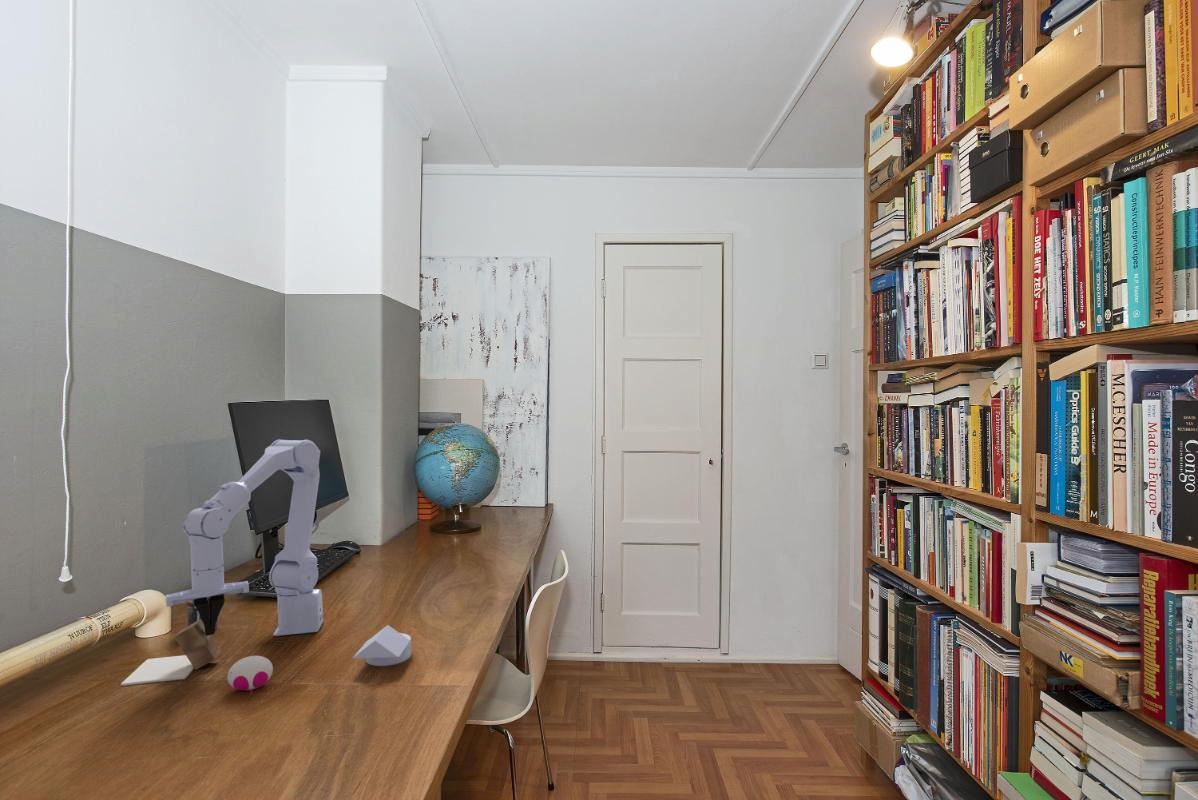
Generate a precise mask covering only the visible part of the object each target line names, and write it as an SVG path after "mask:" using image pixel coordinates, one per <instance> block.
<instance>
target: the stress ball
mask: <svg viewBox="0 0 1198 800" xmlns="http://www.w3.org/2000/svg"><path fill="white" fill-rule="evenodd" d="M273 666H274V665H273V663H272V662H271V660H270V659H268V658H267V657H265V656H261V655H251V656H250V655H249V656H246V657H243V658H240V659H239V660H237V661H236V662H235V663H234V664H233V665H232V666H231V667H230V668H229V670H228V673H227V676H226V677H227V682H228V685H230V686H231V687H232V688H233V689H235V690H237V691H250V695H252V693H253V690H255V689H258V688H260V687H262V686H264V685H265V684H266V683H267V682H268V681H269V680H270V679H271V677H272V674H273V672H274V667H273Z"/></svg>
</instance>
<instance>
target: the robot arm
mask: <svg viewBox="0 0 1198 800" xmlns="http://www.w3.org/2000/svg"><path fill="white" fill-rule="evenodd" d="M320 457H321V450H320V448H318V446H317V445H316V444H315V443H314V442H313V441H312V440H309V439H304V440H301V439H300V440H297V439H295V440H290V439H289V440H288V439H276V440H274V441H273V442H272V443H271V444H270V445H269V446H267V447H266V448H265V449H264V453H263V455H262V456H261V457H260V458H259V459H258V460H257V461H256V462H255V463H254V464H253V465H252V466H251V467H250V469H249V470H248V471H247V472H246V473H245V474H244V475H243V476H241V478H240V479H239V480H238V481H229V482H228V483H223V484H222V485H221V486H220V490H219V491H218V492H217V493H215V494H214V495H213V496H212V497H211V498H210V499H209V500H206V501H205V502H203V505H202V507H198V508H195V509H193V510H191V511H190V512H189V513H188V514H187V515H186V517H185V518H184V519H185V520H184V522H183V523H182V524H181V526H182V527H181V528H182V530H183V533H185V535H186V536H187V537H188V543H189V545H190V551H189V552H190V570H191V571H190V572H191V589H186V590H183V591H178V592H174V593H168V594H165V606H166V608H167V607H168V608H169V607H173V606H174V605H180V604H185V603H188V602H192V601H193V603H194V606H195V607H196V609H197V611H198V612H199V614H200V616H201V618H202V621H203V624H204V627H205V633H206V636H208V635H211V636H212V635H215V633H216V632H215V631H216V630H215V626H216V622H217V623H218V620H217V619H219V615H220V613H221V610H222V608H223V607H224V605H225V602H226V601H225V599H226V598H225V596H230V595H234V594H241V593H243V594H247V593H249V592H250V585H249V582H248V580H245V581H239V582H238V581H236V582H229V583H226V582H225V569H224V545H223V544H224V541H223V535H224V534H226V533H227V531H228V529H229V526H230V523H231V521H232V520H233V517H234V516H235V515H236V514H238V513H239V512H240V511H241V510H242V509H243V508H244V507H245V506H246V505H247V504H248V503H249V502H251V498H252V497H251V495H252V494H251V493H252V492H253V491H254V490H256V489H257V488H258V487H259V486H260V485H261V484H263V483H264V482H265V481H266V480H267V479H269V478H270V477H271V476H273V474H274V473H276V472H277V471H280V470H281V471H283V472H284V473H286V474H287V475H288V476H289V477H290V478H291V480H292V481H293V485H292V492H291V493H292V494H291V497H290V498H291V499H290V507H289V513H288V519H287V526H286V534H285V540H284V545H283V546H284V547H283V549H282V550H280V551H279V552H278V553H277V554H276V555H275V557H274V563H273V564H272V566H271V569H270V571H269V573H268V581H269V583H270V585H271V586H272V588H273V587H274V591H275V593H277V596H276V597H277V619H278V620H277V621H278V627H276V629H275V631H274V632H273V635H272V636H274V637H280V636H289V635H290V636H291V635H297V634H300V635H301V634H307V633H310V634H311V633H317V632H319V631H320V628H321V626H322V624H323V623H324V613H323V593H322V589H319V588H314V587H315V586H317V585H316V584H317V582H318V581H319V580H318V579H319V570H318V558H317V556H316V555H315V554H314V553H313V552H312V551H311V542H312V535H313V527H314V521H315V520H314V519H315V513H316V505H317V497H318V492H319V491H318V490H319V486H320V485H319V483H320V479H321V477H320V466H319V465H320ZM207 599H208V600H207ZM208 602H209V603H208Z"/></svg>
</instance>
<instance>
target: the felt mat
mask: <svg viewBox="0 0 1198 800" xmlns="http://www.w3.org/2000/svg"><path fill="white" fill-rule="evenodd" d="M194 670H195V669H194V667H193V666H192V664H191V663H190V661H189V659H188V658H187V656H186V655H185V654H184V655H176V656H175V655H173V656H165V657H155V658H148V659H146V660H145V661H144V662H143V663H141V664H140V666H138V667H137V668H136V669H135V670H134V671H132V673H131V674H130V675H129V676H128V677H126V679H124V680H122V682H121V683H120V686H121V687H122V686H124V687H125V686H131V685H132V686H133V685H140V684H142V685H143V684H149V683H157V682H158V683H159V682H167V681H168V682H170V681H177V680H179V681H180V680H185V679H186V678H187V677H189V675H190V674H191V673H192V672H193V671H194Z"/></svg>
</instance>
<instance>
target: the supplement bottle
mask: <svg viewBox="0 0 1198 800" xmlns="http://www.w3.org/2000/svg"><path fill="white" fill-rule="evenodd" d="M207 600H208V599H207ZM208 603H209V602H208ZM200 619H201V621H202V618H201V616H200V614H199V612H198V611H197V609H196V607H195V606H194V603H193V601H192V602H187V627H188V626H189V625H191V624H193V623H195V622H197V621H198V620H200ZM218 619H219V618H218ZM218 619H217V622H216V626H215V631H216V630H217V629H218V623H219V622H218ZM202 622H203V621H202Z"/></svg>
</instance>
